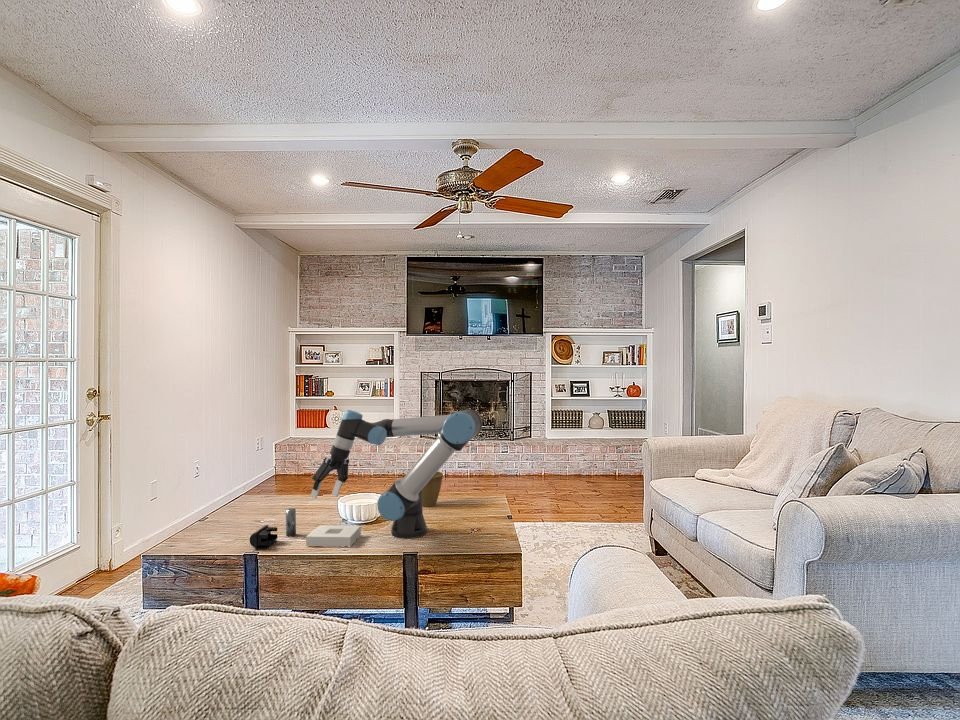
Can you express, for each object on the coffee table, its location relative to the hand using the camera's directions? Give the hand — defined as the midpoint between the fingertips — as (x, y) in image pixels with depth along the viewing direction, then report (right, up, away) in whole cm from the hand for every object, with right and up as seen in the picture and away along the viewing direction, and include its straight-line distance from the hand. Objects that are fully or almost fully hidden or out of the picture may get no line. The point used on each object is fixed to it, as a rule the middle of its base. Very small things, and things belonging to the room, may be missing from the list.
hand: (324, 496), depth 218 cm
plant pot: (+38, -18, +52) cm, 67 cm away
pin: (-17, -19, +9) cm, 27 cm away
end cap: (-24, -19, -3) cm, 30 cm away
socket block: (+4, -18, +1) cm, 19 cm away
